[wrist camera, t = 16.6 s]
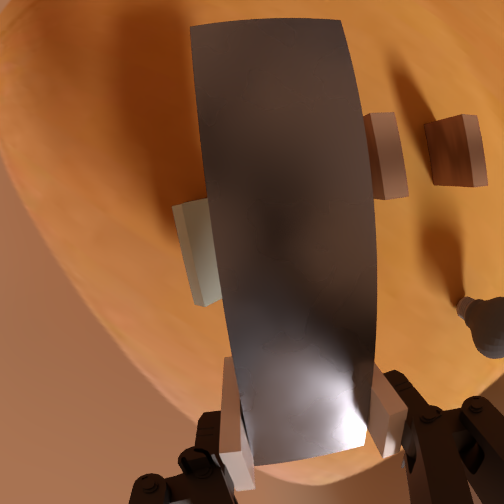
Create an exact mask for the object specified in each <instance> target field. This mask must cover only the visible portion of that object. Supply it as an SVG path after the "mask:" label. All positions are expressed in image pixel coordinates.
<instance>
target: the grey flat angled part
mask: <svg viewBox="0 0 504 504" xmlns="http://www.w3.org/2000/svg"><path fill="white" fill-rule="evenodd" d="M172 210H173V215H174V220H175V224H176V229H177V234H178V238H179V243H180V247H181V251H182V256H183V260H184V264H185V268H186V272H187V276H188V280H189V284H190V288H191V292H192V296H193V300H194V304H195V305H199V306H203V307H206V306H208V305H210V304H212V303H214V302H216V301H218V300H220V299H222V294H221V287H220V281H219V275H218V268H217V262H216V255H215V248H214V241H213V234H212V227H211V220H210V213H209V205H208V198H204V199H199V200H195V201H190V202H185V203H183V204H179V205H175V206H172Z"/></svg>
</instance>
